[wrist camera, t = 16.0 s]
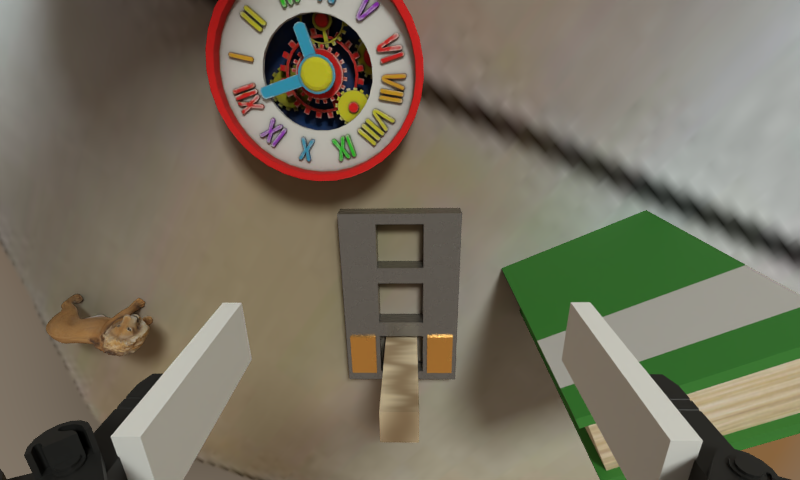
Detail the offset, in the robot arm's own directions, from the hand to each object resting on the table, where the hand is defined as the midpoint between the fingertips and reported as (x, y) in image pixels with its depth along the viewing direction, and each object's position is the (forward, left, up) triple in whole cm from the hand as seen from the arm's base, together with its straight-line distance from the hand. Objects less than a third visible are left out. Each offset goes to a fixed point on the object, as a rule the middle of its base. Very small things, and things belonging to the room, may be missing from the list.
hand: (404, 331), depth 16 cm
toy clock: (-8, +10, -32) cm, 35 cm away
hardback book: (+21, -12, -32) cm, 40 cm away
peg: (-1, -24, -32) cm, 39 cm away
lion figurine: (-37, -18, -32) cm, 52 cm away
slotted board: (-1, -16, -32) cm, 36 cm away
